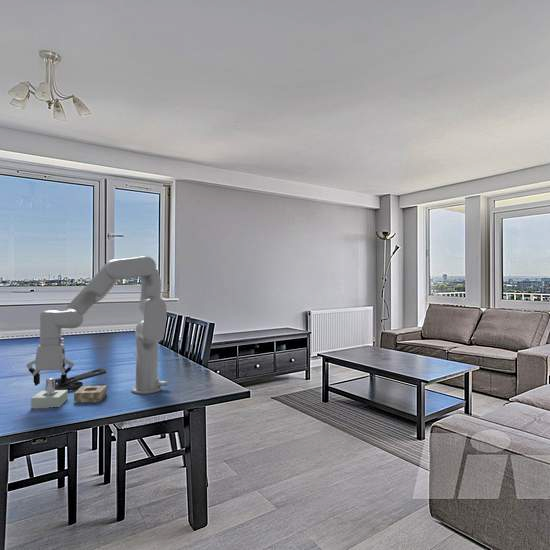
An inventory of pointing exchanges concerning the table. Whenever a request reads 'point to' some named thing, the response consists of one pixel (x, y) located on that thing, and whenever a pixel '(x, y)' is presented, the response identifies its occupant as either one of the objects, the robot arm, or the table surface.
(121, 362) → the table surface
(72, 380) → the zipper pull
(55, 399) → the sage socket block
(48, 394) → the metal pin
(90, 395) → the birch mount block
